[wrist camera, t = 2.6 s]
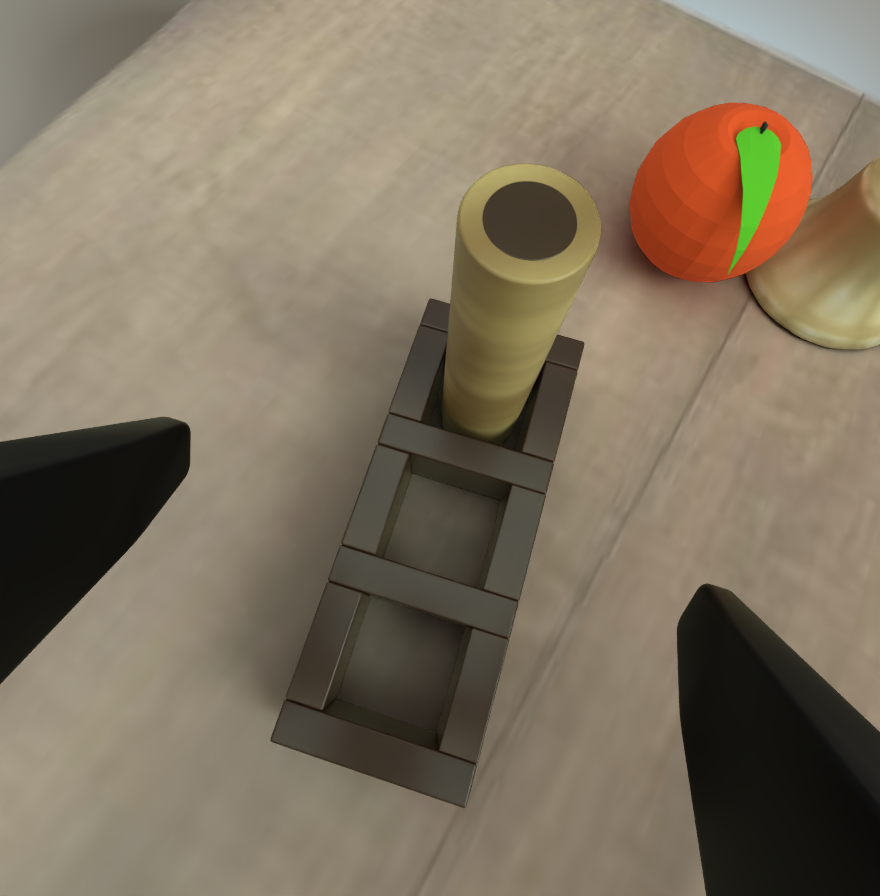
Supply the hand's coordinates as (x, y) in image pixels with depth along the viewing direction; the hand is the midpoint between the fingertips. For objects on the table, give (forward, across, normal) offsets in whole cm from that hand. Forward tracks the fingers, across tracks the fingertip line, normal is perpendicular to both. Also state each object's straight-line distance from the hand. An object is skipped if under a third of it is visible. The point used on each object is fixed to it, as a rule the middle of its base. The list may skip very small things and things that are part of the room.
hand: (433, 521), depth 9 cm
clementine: (+22, -7, -3) cm, 24 cm away
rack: (+11, 0, +8) cm, 13 cm away
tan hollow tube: (+14, 0, +4) cm, 15 cm away
